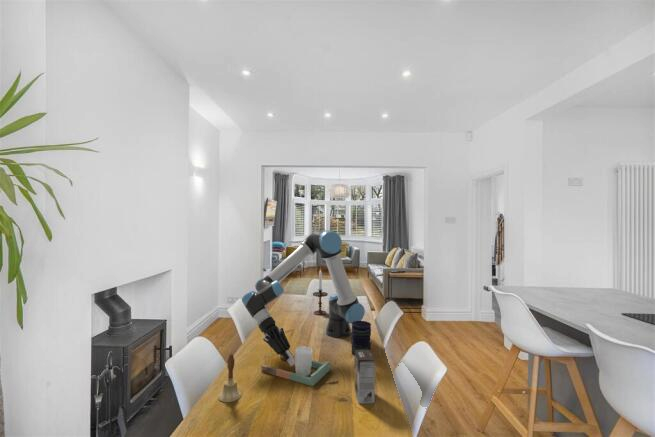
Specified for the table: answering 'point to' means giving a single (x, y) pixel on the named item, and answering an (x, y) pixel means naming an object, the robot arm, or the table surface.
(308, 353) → the white cup
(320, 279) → the candlestick
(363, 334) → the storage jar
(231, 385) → the hand bell
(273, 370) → the lane walls
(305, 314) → the table surface
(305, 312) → the table surface
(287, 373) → the walls
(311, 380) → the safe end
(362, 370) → the coffee box
